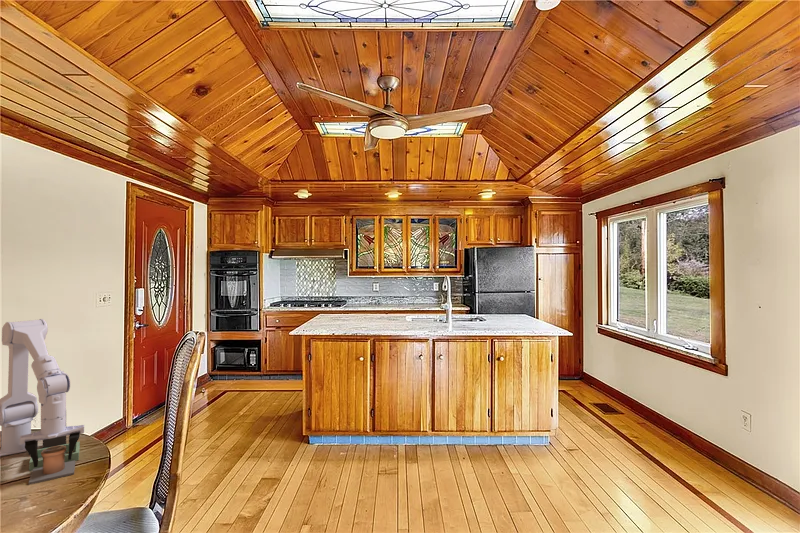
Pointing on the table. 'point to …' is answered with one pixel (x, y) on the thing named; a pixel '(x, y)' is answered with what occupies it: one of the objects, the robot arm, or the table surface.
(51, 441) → the phone stand
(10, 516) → the table surface
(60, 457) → the terracotta pot
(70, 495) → the table surface
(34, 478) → the slate mat
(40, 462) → the frame
